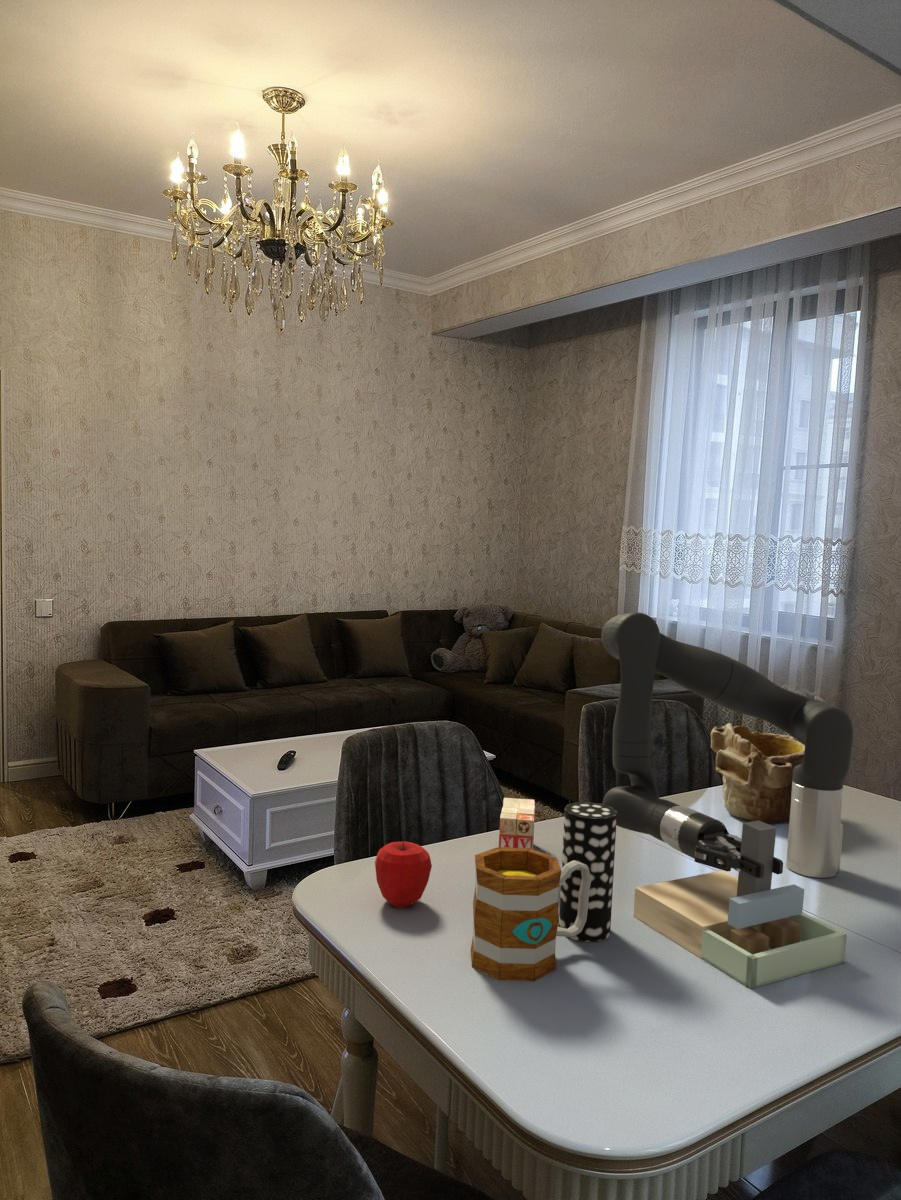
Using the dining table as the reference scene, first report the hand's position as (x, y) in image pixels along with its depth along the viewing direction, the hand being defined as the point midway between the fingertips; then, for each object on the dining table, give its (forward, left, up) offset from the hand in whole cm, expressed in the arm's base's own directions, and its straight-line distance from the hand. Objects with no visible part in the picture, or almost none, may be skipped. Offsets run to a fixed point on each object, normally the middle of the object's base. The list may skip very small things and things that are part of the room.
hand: (771, 869), depth 137 cm
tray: (0, +1, -14) cm, 14 cm away
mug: (+34, -15, -14) cm, 40 cm away
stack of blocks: (+15, -48, -14) cm, 53 cm away
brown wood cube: (-4, -3, -11) cm, 12 cm away
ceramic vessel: (-53, -50, -14) cm, 74 cm away
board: (0, -12, -14) cm, 18 cm away
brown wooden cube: (+4, -2, -11) cm, 12 cm away
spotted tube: (+21, -19, -14) cm, 31 cm away
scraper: (0, -3, -8) cm, 9 cm away
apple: (+44, -40, -14) cm, 61 cm away
